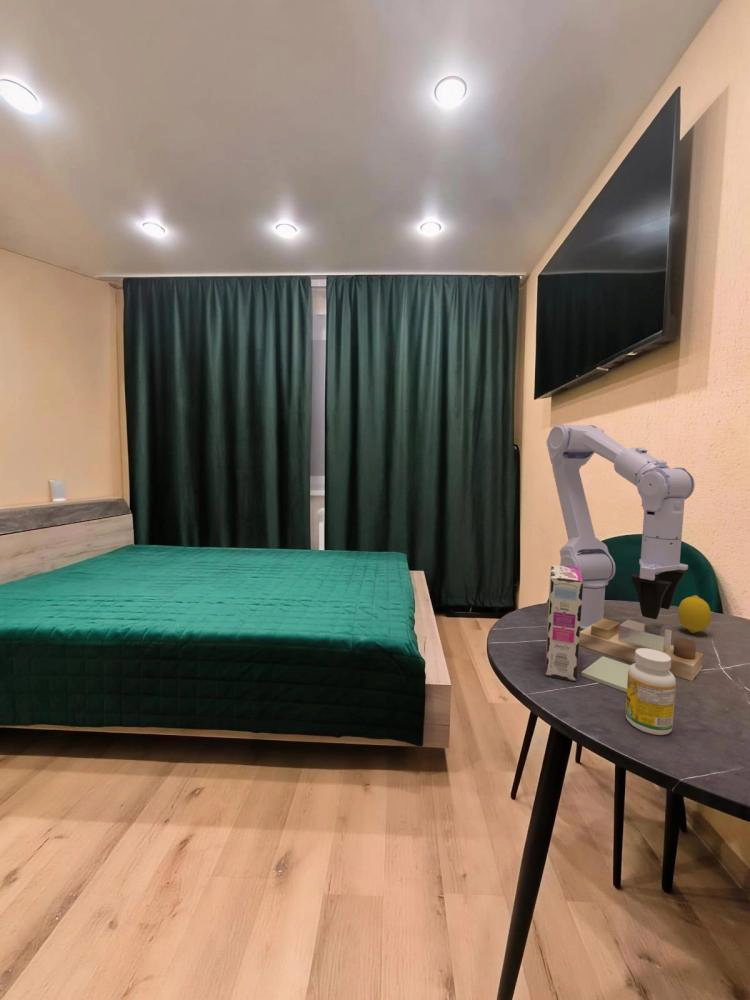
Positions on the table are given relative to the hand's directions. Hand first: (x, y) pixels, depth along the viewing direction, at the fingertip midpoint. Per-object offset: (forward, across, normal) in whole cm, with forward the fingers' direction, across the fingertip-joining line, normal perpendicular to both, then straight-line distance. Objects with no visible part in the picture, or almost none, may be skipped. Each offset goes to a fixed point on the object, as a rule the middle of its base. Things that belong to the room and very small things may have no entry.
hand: (656, 612), depth 76 cm
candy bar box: (+9, -15, +10) cm, 20 cm away
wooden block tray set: (+8, -1, +2) cm, 9 cm away
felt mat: (+8, -12, +1) cm, 15 cm away
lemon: (+9, +20, -2) cm, 22 cm away
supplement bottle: (+9, -23, -6) cm, 25 cm away
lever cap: (+6, -1, +1) cm, 6 cm away
